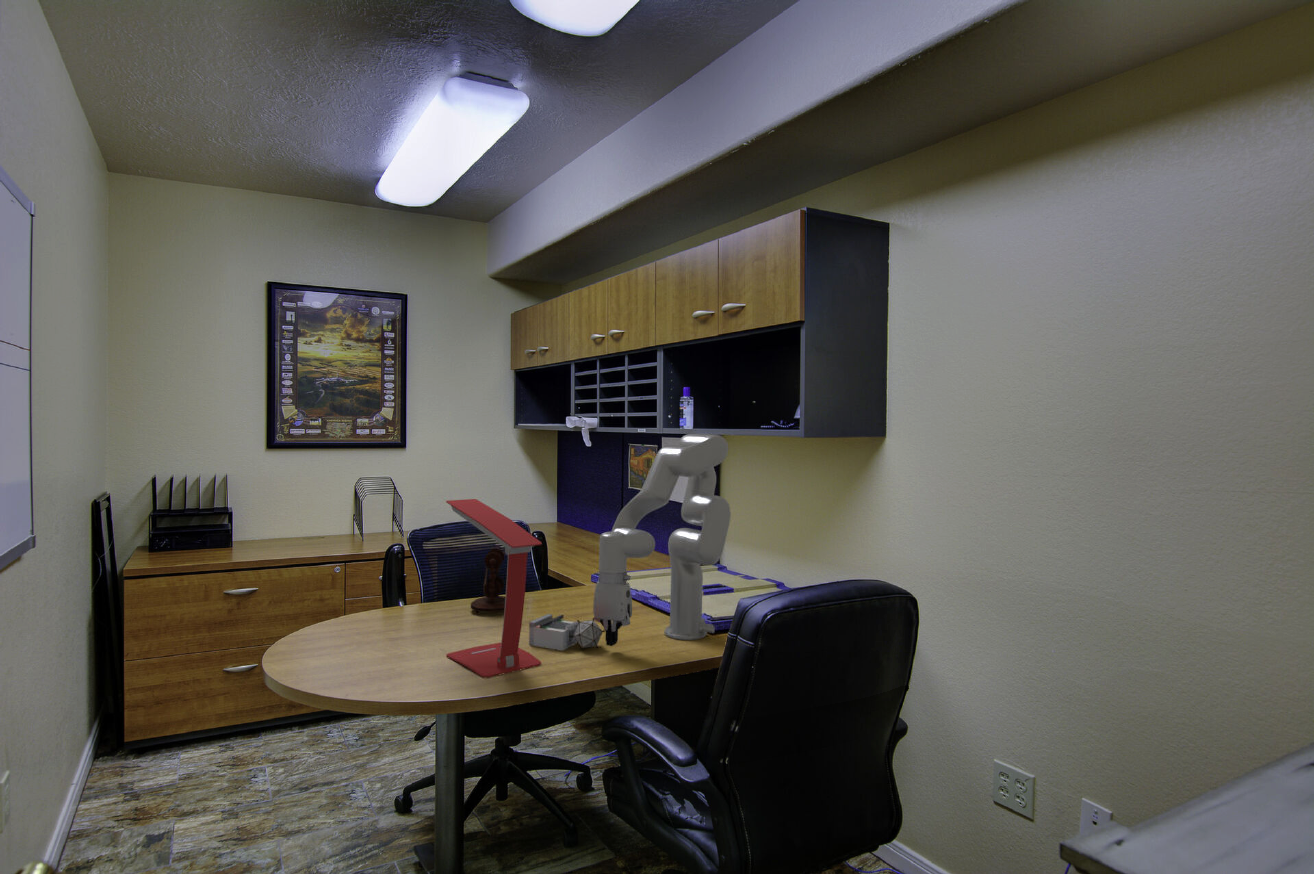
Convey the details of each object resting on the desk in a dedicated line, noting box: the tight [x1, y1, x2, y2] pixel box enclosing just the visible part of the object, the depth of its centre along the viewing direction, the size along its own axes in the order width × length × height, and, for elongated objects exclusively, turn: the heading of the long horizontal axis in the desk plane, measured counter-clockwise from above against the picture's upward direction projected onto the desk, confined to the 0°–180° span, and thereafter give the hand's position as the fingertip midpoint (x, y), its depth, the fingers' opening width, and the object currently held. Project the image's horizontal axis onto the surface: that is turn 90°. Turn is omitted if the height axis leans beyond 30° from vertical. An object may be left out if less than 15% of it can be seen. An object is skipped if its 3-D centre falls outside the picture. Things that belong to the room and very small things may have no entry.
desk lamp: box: [445, 498, 543, 678], centre depth 187 cm, size 18×38×40 cm, turn 40°
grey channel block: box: [540, 614, 579, 645], centre depth 200 cm, size 8×12×5 cm
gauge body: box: [528, 613, 578, 651], centre depth 200 cm, size 11×10×6 cm
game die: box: [571, 617, 606, 652], centre depth 197 cm, size 9×8×10 cm
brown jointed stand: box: [470, 547, 506, 615], centre depth 233 cm, size 15×15×20 cm
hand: (611, 644), depth 193 cm, fingers closed
